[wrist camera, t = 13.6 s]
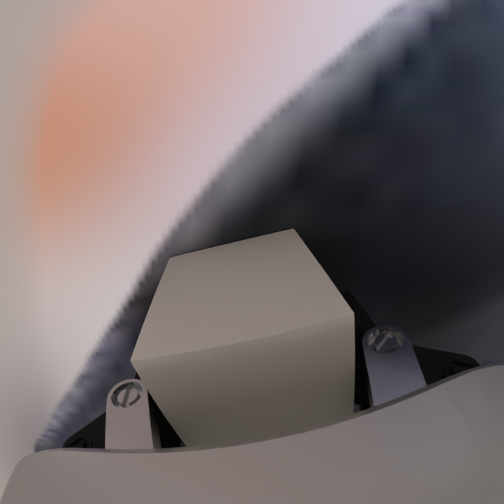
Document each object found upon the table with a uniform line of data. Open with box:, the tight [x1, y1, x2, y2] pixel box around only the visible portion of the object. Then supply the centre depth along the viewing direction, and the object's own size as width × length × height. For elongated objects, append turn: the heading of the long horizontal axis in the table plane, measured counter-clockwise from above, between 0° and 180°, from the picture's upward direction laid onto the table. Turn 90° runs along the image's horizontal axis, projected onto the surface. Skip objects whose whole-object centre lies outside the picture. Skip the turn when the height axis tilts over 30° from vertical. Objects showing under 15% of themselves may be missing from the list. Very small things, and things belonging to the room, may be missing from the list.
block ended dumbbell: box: [130, 228, 355, 447], centre depth 11 cm, size 4×16×6 cm, turn 12°
